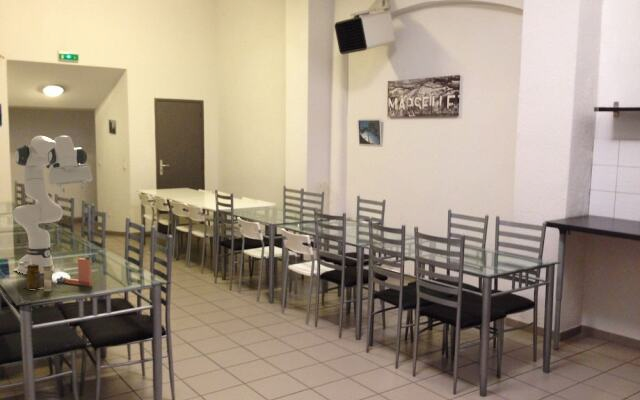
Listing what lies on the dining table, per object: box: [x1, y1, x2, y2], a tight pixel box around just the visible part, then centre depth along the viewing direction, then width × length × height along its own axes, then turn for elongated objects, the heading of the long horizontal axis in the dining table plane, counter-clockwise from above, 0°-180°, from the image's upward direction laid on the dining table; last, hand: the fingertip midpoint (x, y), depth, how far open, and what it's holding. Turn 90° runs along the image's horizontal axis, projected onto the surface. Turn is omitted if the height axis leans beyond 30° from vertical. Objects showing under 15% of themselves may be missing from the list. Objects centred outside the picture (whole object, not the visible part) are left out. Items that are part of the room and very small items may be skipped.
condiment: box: [26, 264, 45, 290], centre depth 294 cm, size 7×8×12 cm
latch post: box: [43, 264, 54, 292], centre depth 291 cm, size 4×4×13 cm
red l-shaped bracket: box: [64, 255, 93, 287], centre depth 303 cm, size 16×2×16 cm, turn 71°
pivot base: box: [56, 275, 68, 285], centre depth 307 cm, size 5×5×3 cm
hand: (73, 191), depth 286 cm, fingers open, 8 cm apart
